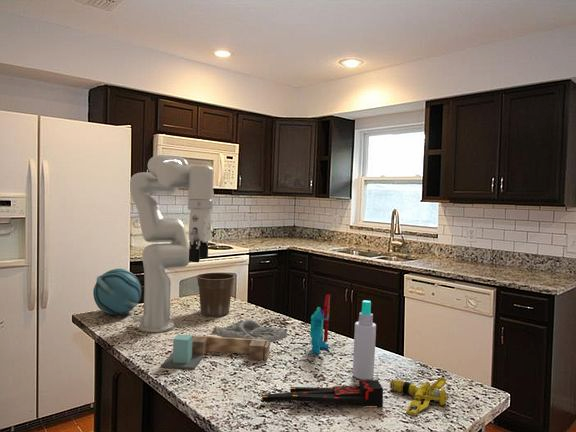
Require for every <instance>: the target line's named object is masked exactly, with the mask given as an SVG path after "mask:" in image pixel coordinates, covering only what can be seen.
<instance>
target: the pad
mask: <svg viewBox="0 0 576 432" xmlns="http://www.w3.org/2000/svg"><path fill="white" fill-rule="evenodd" d="M203 358H204V356H203V355H192V358H191V360H190V361H189V362H188V363H176V362H173V352H172V353H171V354H170V355H169V356H168V357H167V358H166V359H165V360H164V361H163V362H162V363H161V364H160V368H163V369H164V368H165V369H167V368H168V369H180V370H183V369H184V370H192V371H193V370H195V369H196V368H197V366H199V364H200V362H201V361H202V360H203Z"/></svg>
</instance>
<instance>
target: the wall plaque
mask: <svg viewBox="0 0 576 432" xmlns="http://www.w3.org/2000/svg"><path fill="white" fill-rule="evenodd" d="M212 333H213V334H215V335H217V336H218V337H227V338H242V339H257V340H270V344H271V343H273V342H276V341H278V340H279V341H280V340H282V339H285V338H287V337H288V331H287V329H286V328H283V327H277V328H273V327H271V326H263V325H261V324H259V322H257V321H255V320H253V319H245V320H243V319H240V320H239V321H237V322H234V323H232V324H229V325H227V326H226V327H223V326H222V327H221V326H214V327H213V331H212Z"/></svg>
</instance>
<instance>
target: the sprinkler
mask: <svg viewBox="0 0 576 432" xmlns="http://www.w3.org/2000/svg"><path fill="white" fill-rule="evenodd" d="M446 380H447V379H446V378H445V377H439V378H438V379H437V380H436V381H434V382H433V383H432V384H431V383H430V382H429V381H426V382H423V383H422V384H421V385H420V386H419V387H418V386H417V385H416V384H413V383H411V382H407V381H403V380H399V379H391V380H390V381H389V388H390V389H391V390H394V391H395V392H398V393H403V394H404V395H408V396H409V395H413V396H414V399H411V402H409V403H410V404H409V405H408V408H407V409H406V414H408V415H410V416H417V415H418V413H420V412H421V411H423V410H424V409H426V408H428V407H429V404H430V401H431V400H432V401H434V402H437V403H439V405H440V406H441V407H442V406H444V405H445V403H446V402H447V401H448V396H447V392H446V390H445V388H443V387H444V386H445V385H446V383H447V382H446ZM423 399H424V401H423V404H422V400H423ZM412 406H414V407H417V408H416V409H415V410H411V409H412ZM410 410H411V411H410Z"/></svg>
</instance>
